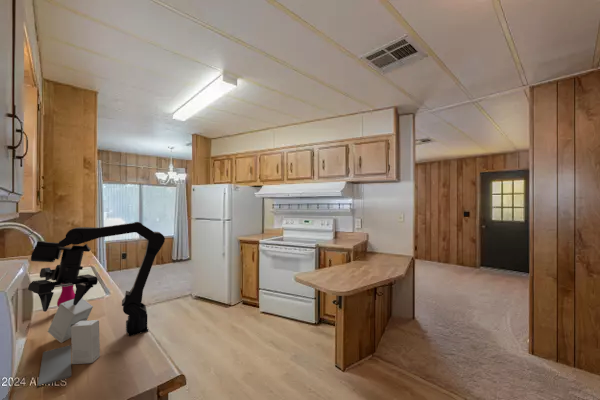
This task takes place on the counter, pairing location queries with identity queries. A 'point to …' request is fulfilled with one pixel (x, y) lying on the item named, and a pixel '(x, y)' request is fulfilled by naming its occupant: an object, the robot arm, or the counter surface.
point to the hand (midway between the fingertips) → (60, 307)
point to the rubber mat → (55, 365)
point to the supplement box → (68, 318)
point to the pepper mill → (66, 294)
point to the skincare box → (85, 342)
